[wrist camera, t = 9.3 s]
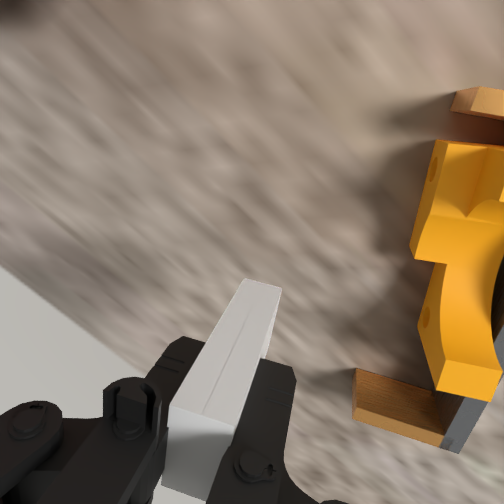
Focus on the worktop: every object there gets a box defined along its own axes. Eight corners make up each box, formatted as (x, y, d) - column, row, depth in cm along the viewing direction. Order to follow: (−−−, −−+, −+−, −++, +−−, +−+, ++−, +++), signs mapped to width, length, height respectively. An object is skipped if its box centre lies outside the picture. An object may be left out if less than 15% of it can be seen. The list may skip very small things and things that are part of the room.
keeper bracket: (352, 378, 28) (352, 418, 24) (456, 91, 20) (479, 86, 16) (444, 407, 26) (458, 453, 23) (593, 114, 19) (651, 115, 15)
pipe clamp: (435, 139, 21) (467, 149, 15) (520, 146, 20) (589, 161, 14) (389, 319, 25) (400, 381, 20) (457, 332, 24) (490, 402, 19)
